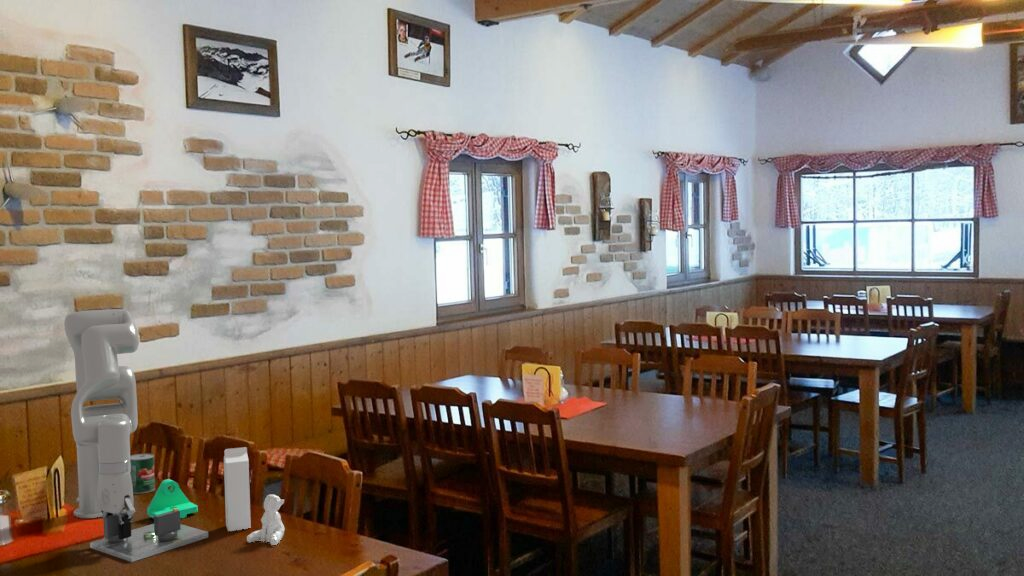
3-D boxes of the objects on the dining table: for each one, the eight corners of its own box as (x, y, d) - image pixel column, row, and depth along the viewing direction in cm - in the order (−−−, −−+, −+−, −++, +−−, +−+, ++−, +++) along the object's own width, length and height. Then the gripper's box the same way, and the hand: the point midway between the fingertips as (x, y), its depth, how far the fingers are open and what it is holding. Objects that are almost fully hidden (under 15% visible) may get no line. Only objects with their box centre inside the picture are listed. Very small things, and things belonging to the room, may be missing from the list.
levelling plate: (90, 547, 231) (89, 538, 231) (166, 525, 249) (166, 516, 249) (131, 562, 220) (131, 552, 220) (208, 537, 238) (207, 528, 238)
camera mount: (157, 524, 251) (156, 488, 250) (147, 518, 256) (146, 483, 256) (199, 515, 259) (197, 480, 258) (188, 509, 264) (187, 475, 264)
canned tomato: (149, 493, 282) (147, 459, 281) (124, 494, 282) (122, 459, 281) (159, 486, 290) (158, 453, 289) (135, 487, 290) (133, 453, 289)
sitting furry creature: (245, 543, 233) (243, 497, 232) (265, 532, 241) (264, 489, 240) (275, 546, 230) (273, 500, 229) (295, 536, 238) (293, 492, 237)
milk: (250, 528, 245) (248, 449, 243) (227, 532, 242) (225, 451, 241) (248, 522, 250) (245, 444, 249) (225, 525, 248) (223, 447, 247)
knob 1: (101, 541, 231) (100, 514, 231) (124, 534, 236) (123, 508, 236) (111, 544, 228) (110, 517, 228) (134, 537, 234) (133, 511, 233)
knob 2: (151, 539, 232) (150, 512, 232) (173, 532, 237) (172, 506, 237) (162, 543, 229) (161, 515, 229) (184, 536, 234) (183, 509, 234)
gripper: (83, 466, 234) (86, 533, 234) (119, 475, 223) (122, 545, 224) (110, 460, 240) (113, 526, 240) (147, 468, 230) (149, 537, 230)
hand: (117, 534), depth 232 cm, fingers open, 6 cm apart
